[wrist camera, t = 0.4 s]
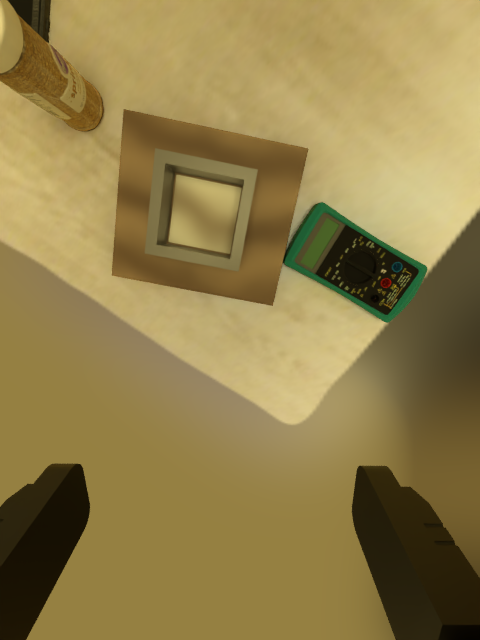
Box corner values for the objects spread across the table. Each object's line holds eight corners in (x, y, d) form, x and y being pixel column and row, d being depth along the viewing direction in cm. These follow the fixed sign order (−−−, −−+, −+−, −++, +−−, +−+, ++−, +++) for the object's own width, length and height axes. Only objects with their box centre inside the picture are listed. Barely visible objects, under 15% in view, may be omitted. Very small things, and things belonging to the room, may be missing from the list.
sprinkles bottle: (113, 112, 30) (18, 21, 17) (81, 142, 31) (-34, 77, 18) (81, 68, 29) (-46, -63, 16) (49, 101, 30) (-97, 0, 17)
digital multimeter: (383, 320, 37) (395, 328, 34) (278, 260, 35) (282, 263, 32) (421, 267, 35) (437, 270, 32) (313, 201, 33) (320, 198, 30)
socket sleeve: (166, 159, 30) (155, 148, 26) (255, 177, 30) (257, 169, 26) (156, 251, 32) (144, 253, 28) (239, 267, 32) (238, 271, 29)
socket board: (131, 117, 30) (122, 108, 28) (304, 154, 31) (308, 148, 29) (119, 273, 35) (111, 275, 33) (271, 301, 36) (272, 306, 33)
